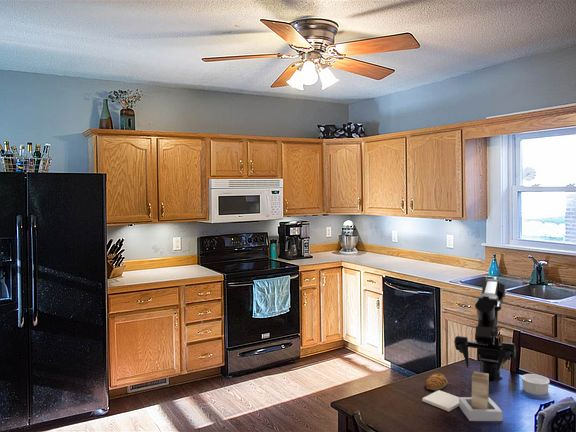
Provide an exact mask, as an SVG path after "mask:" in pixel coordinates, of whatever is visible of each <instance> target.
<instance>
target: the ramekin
mask: <svg viewBox="0 0 576 432" xmlns="http://www.w3.org/2000/svg"><path fill="white" fill-rule="evenodd" d="M520 378H521V383H522V384H521V385H522V389H523V391H525V392H527V393H529V394H530V395H532V394H533V395H537V396H539V395H540V396H544V395H546V394H548V393H549V386H550V379H549V378H548V377H546V376H543V375H540V374H534V373H526V374H523V375H521V376H520Z"/></svg>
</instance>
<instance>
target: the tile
mask: <svg viewBox="0 0 576 432" xmlns="http://www.w3.org/2000/svg"><path fill="white" fill-rule="evenodd" d="M459 397H460V396H456V395H454V394H451V393H449V392H446V391H443V390H441V389H439V390H436V391H434V392H432V393H430V394H428V395H426V396H424V397H422V400H421V402H424V403H426V404H429V405H432V406H433V407H436V408H438V409H442V410H443V411H447V412H451V411H452V410H453V411H454V409H456V408H458V407H459Z"/></svg>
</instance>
